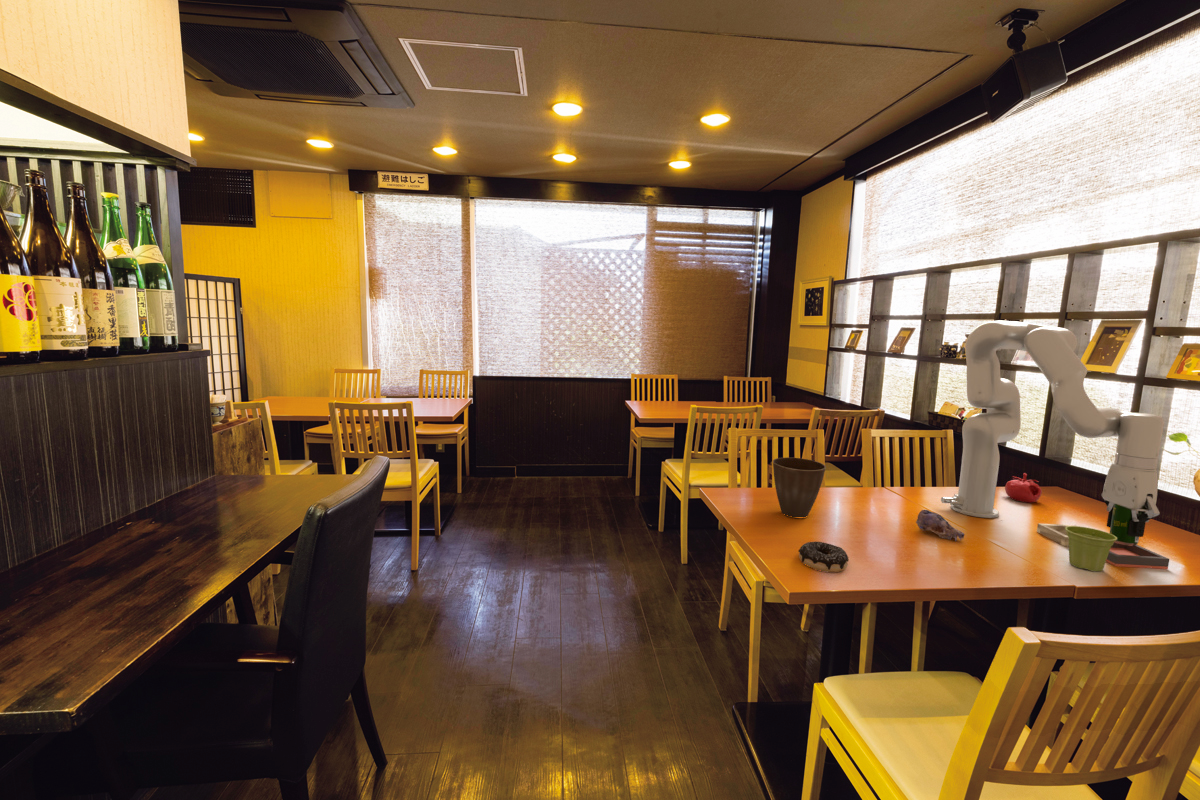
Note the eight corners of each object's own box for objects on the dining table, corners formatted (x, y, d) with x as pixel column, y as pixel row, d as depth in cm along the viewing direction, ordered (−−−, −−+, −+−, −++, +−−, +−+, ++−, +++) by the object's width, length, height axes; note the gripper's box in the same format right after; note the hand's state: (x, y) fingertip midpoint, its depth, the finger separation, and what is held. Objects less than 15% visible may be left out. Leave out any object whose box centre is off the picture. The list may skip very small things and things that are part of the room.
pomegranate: (1001, 499, 184) (1003, 473, 183) (1007, 494, 191) (1010, 468, 190) (1037, 506, 177) (1040, 479, 176) (1043, 500, 184) (1045, 474, 182)
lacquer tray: (1115, 566, 132) (1116, 556, 131) (1076, 546, 143) (1077, 537, 143) (1167, 569, 131) (1169, 559, 130) (1124, 549, 143) (1125, 539, 142)
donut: (842, 557, 133) (843, 541, 133) (853, 578, 122) (854, 561, 121) (795, 551, 136) (796, 536, 135) (801, 571, 124) (803, 555, 124)
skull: (969, 542, 145) (972, 520, 144) (950, 545, 142) (953, 523, 141) (927, 526, 156) (929, 506, 155) (909, 529, 153) (911, 509, 152)
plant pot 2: (1050, 558, 135) (1055, 525, 134) (1084, 558, 136) (1089, 525, 135) (1086, 575, 126) (1092, 540, 125) (1122, 574, 127) (1128, 540, 126)
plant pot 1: (831, 517, 161) (836, 466, 158) (801, 527, 152) (805, 472, 150) (789, 503, 173) (793, 455, 171) (759, 511, 164) (762, 460, 162)
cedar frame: (1064, 546, 144) (1065, 537, 143) (1036, 531, 154) (1037, 523, 153) (1104, 548, 143) (1106, 539, 142) (1074, 533, 153) (1075, 525, 153)
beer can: (1139, 543, 136) (1146, 497, 135) (1136, 548, 133) (1143, 501, 131) (1110, 536, 140) (1116, 492, 139) (1106, 541, 137) (1113, 495, 135)
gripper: (1091, 453, 143) (1081, 519, 145) (1151, 470, 126) (1139, 544, 128) (1121, 455, 142) (1110, 520, 144) (1186, 471, 125) (1173, 545, 127)
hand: (1124, 531), depth 136 cm, fingers closed on beer can, 5 cm apart
